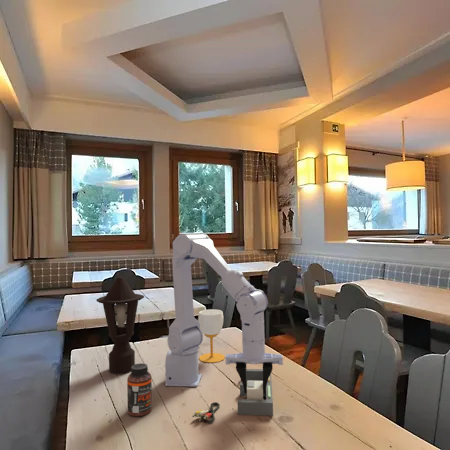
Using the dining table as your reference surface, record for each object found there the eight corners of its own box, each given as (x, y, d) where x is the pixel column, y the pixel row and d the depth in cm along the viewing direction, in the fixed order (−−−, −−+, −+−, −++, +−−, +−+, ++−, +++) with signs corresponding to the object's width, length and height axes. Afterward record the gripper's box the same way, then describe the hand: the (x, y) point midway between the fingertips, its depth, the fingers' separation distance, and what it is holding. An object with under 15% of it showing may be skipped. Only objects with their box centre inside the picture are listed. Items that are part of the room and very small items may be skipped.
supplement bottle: (139, 420, 86) (138, 372, 86) (122, 413, 89) (121, 367, 89) (157, 409, 91) (156, 364, 91) (140, 403, 94) (139, 360, 94)
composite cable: (213, 404, 93) (213, 395, 93) (229, 409, 90) (229, 399, 90) (191, 423, 84) (190, 412, 84) (208, 428, 82) (208, 417, 82)
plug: (247, 409, 90) (246, 387, 90) (248, 399, 95) (247, 379, 95) (263, 409, 89) (262, 388, 89) (263, 399, 94) (262, 379, 94)
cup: (229, 356, 127) (228, 310, 127) (215, 364, 119) (214, 316, 119) (208, 352, 131) (207, 308, 132) (193, 360, 124) (192, 313, 124)
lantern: (140, 358, 127) (138, 273, 127) (150, 372, 114) (148, 278, 114) (95, 365, 121) (93, 276, 121) (101, 382, 107) (98, 282, 107)
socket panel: (237, 414, 87) (237, 400, 87) (242, 378, 107) (242, 367, 107) (273, 415, 86) (272, 401, 86) (270, 379, 107) (270, 367, 107)
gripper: (223, 343, 89) (225, 398, 89) (282, 343, 87) (284, 399, 87) (226, 335, 96) (227, 386, 96) (281, 335, 94) (282, 386, 94)
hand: (254, 391), depth 92 cm, fingers closed on plug, 4 cm apart
